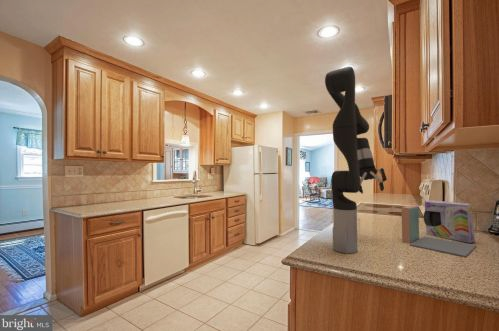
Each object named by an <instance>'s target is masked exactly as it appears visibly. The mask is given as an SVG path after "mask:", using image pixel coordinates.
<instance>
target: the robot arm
mask: <svg viewBox="0 0 499 331" xmlns="http://www.w3.org/2000/svg"><path fill="white" fill-rule="evenodd" d="M324 85H325V88H326V90H327V92H328V94H329V96H330V97H331V98H332V100H333V101H334V103H335V104H336V105H337V106H338V108H339V111H338V113H337V114H336V116H335V118H334V120H333V122H332V137H333V138H332V139H333V143H334V145H335V146H336V147H337V148H338V150H339V151H340V152H341V154H342V155H343V157H344V158H345V160H346V163H347V168H348V170H335V171H332V172H333V173H332V174H331V177H330V178H331V180H330V184H331V199H332V201H331V202H332V211H333V212H332V213H333V216H332V217H333V218H332V220H333V224H332V250H333V251H336V252H340V253H342V254H346V255H347V254H355V253H357V252H358V210H357V208H358V206H357V202H356V201H354V200H351V199H350V198H348V197H346V196H345V195H344V193H348V194H351V193H352V194H357V193H358V192H359V193H360V194H364V190H363V185H362V183H363V181H369V180H375V181H377V182H378V186H379V190H380V192H383V191H384V190H385V186H384V182H385V181H387V180H388V178H387V176H386V172H385V170H384V168H383V167H382V168H379V169H377V168H376V165H375V161H374V156H373V153H372V150H371V147H370V143H369V139H368V138H367V137H358V135H359V136H360V135H363V134H366V133H368V132H369V129H370V125H369V122H368V121H367V119H366V118H364V117H363V115H362V114H361V112H360V108H359V106H358V105H357V103H356V74H355V69H354V68H353V67H352V66H345V67H342V68H339V69H334V70H331V71H329V72H327V73H326V74H325V77H324ZM343 93H344V94H343ZM377 174H380V175H381V177H379V176H378V175H377Z"/></svg>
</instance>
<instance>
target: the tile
mask: <svg viewBox="0 0 499 331" xmlns="http://www.w3.org/2000/svg"><path fill="white" fill-rule="evenodd" d="M419 216H420V215H419V205H416V204H415V205H413V204H409V205H406V206H402V207H401V241H402V243H406V244H411V243H413V242H415V241H417V240H419V239H420V220H419V219H420V218H419Z"/></svg>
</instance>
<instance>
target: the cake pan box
mask: <svg viewBox="0 0 499 331" xmlns="http://www.w3.org/2000/svg"><path fill="white" fill-rule="evenodd" d="M472 205H473V204H472V203H463V202H454V201H442V200H441V201H440V200H425V201H424V212H423V222H424V224H425V227H426V228H425V229H426V235H428V236H433V237H439V238H441V239H442V238H443V239H446V240H451V241H452V240H453V241H456V242H462V243H467V244H469V243H475V241H476V240H475V239H476V238H475V237H476V236H475V227H474V218H473V217H474V216H473V208H472V207H473V206H472Z"/></svg>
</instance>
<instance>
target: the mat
mask: <svg viewBox="0 0 499 331" xmlns="http://www.w3.org/2000/svg"><path fill="white" fill-rule="evenodd" d="M409 247H415V248H419V249H422V250H423V249H425V250H428V251H434V252H438V253H443V254H448V255H452V256H457V257H462V258H467V257H468V256H469V255H470V254H471V253H472V252H473V251H474V250H475V248H477V245H474V244H469V243H466V242H460V241H455V240H453V241H452V240H449V239H442V238H441V239H440V238H435V237H429V236H426V235H425V236H423V237H419V239H417V240H415V241H413V242H411V243H409Z"/></svg>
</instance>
